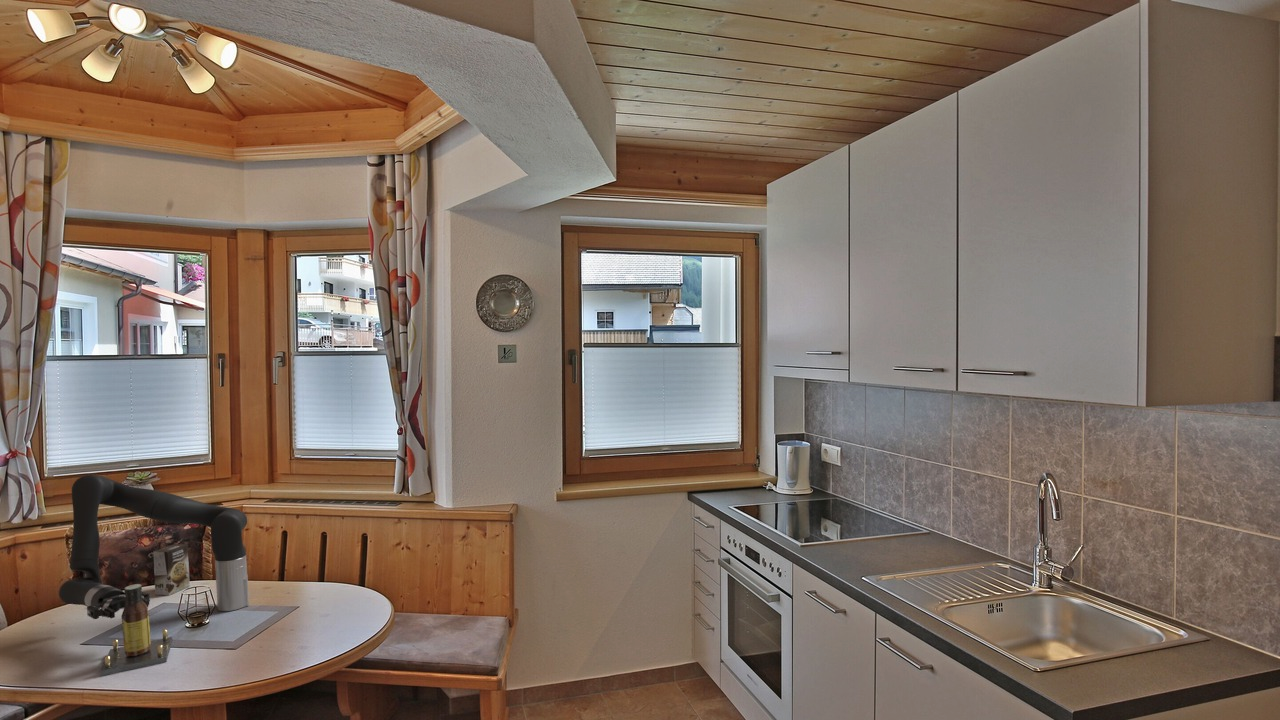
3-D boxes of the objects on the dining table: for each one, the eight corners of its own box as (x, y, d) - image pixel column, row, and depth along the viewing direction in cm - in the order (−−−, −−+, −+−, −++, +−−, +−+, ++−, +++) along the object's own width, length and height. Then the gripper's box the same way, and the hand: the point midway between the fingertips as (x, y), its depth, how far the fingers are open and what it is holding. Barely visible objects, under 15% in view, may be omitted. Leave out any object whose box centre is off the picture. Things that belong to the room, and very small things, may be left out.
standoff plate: (172, 641, 207) (171, 627, 207) (166, 661, 194) (165, 646, 194) (110, 654, 200) (109, 639, 200) (100, 676, 187) (99, 660, 186)
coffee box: (169, 595, 245) (166, 551, 244) (154, 594, 246) (152, 551, 245) (190, 586, 254) (188, 544, 253) (176, 585, 255) (174, 543, 254)
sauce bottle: (133, 648, 200) (129, 582, 199) (156, 646, 200) (152, 581, 200) (118, 658, 193) (114, 590, 193) (141, 657, 194) (137, 589, 193)
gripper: (75, 595, 200) (100, 605, 192) (131, 579, 212) (157, 588, 204) (77, 620, 200) (102, 631, 192) (132, 602, 212) (158, 612, 204)
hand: (130, 609), depth 198 cm, fingers open, 8 cm apart
